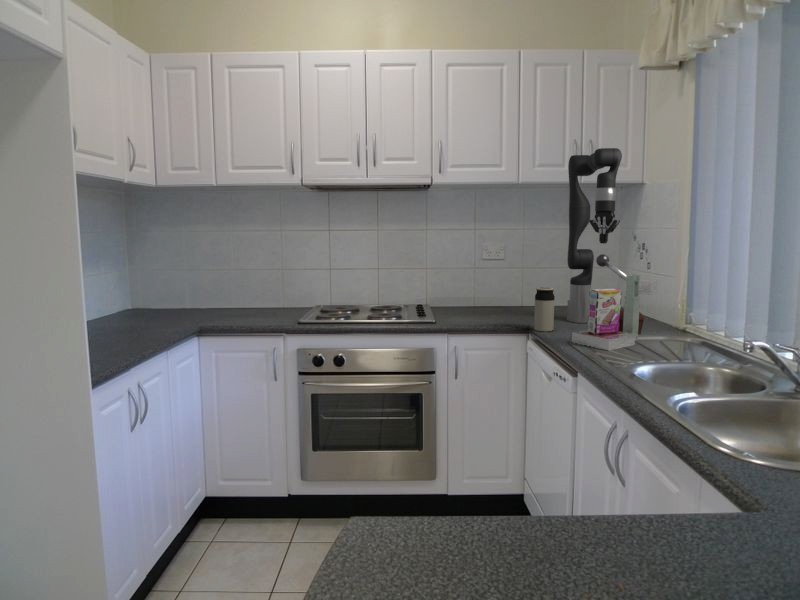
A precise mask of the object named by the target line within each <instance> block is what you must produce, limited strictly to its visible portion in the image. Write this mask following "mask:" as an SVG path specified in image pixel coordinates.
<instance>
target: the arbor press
mask: <svg viewBox="0 0 800 600" xmlns="http://www.w3.org/2000/svg"><path fill="white" fill-rule="evenodd" d="M626 275H627V277H626V281H625V295H624V300H623V302H624V303H623V305H624V306H623V309H624V319H623V332H619V333H608V334H596V335H595V334H591V333H588V332H587V329H584V330H579V331H578V330H577V331H573V332H571V343H572V342H574V343H573V344H575V343H578V344H577V345H580V344H582V345H581V346H584V345H587V346H586V347H589V346H591V347H590V348H594V347H595V348H594V349H598V350H599V349H600V350H604V351H613V350H617V349H622V348H627V347H631V346H634V345H635V344H636V343H635V341H636V340H638V339H639V335H638V325H639V312H640V305H641V302H640V301H641V296H640V294H638V283H639V280H641V275H640V274H639V275H637V274H632V275H629V274H626Z"/></svg>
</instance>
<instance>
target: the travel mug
mask: <svg viewBox="0 0 800 600" xmlns="http://www.w3.org/2000/svg"><path fill="white" fill-rule="evenodd" d="M535 290H536V293H535V295H534V318H533V319H534V321H533V324H534V327H533V329H534V331H537V332H541V333H542V332H543V333H544V332H546V333H548V332H547V331H550V332H553V331H554V328H555V327H554V326H555V323H554V322H555V321H554V319H555V297H556V296H555V294H554V290H555V288H554V287H548V286H547V287H545V286H538V287H536V288H535ZM552 330H553V331H552Z"/></svg>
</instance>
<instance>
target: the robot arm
mask: <svg viewBox="0 0 800 600" xmlns="http://www.w3.org/2000/svg"><path fill="white" fill-rule="evenodd" d="M622 157H623V153H622V151H621V149H620V148H616V147H615V148H613V147H605V148H603V147H601V148H596V149H595V151H594V152H593V153H591V154H590V155H589V154H574V155H570V156H569V159H568V166H567V169H568V171H567V172H568V184H569V186H568V187H569V199H568V201H569V203H568V205H569V206H568V229H569V230H568V245H567V246H568V247H567V248H568V249H567V267H568V269H569V270H582V272H581V273H579V274H578V275H576V276H572V277H571V278H570V279H569V280H570V281H569V283H570V285H569V299H568V300H567V312H566V313H567V314H566V321H568V322H571V323H577V324H586V323H587V324H588V313H589V295H590V290H592V282H593V281H592V280H593V269H594V261H595V260H594V259H595V257H594V251H593V250H592V249H590V248H578V242H579V239H580V238H581V236H582V234H583V233H584V232H585V229H586V228H587V227H588V225H589V224H590V225H591V228H592V229H593V230H594V232H595V233H598V234H599V237H598V239H599V244H607V243H608V239H609V238H608V236H609V234H610V233H613V232H614V231H615V230H616V228H617V227H618V225H620V222H621V220H620V219H617V217H616V213H615V211H616V201H617V200H616V198H617V197H616V196H617V195H616V193H617V191H616V183H617V182H616V181H617V175H618V172H619V168H620V165H621V162H622ZM605 167H609V169H608V170H607V171H605V172H601V173H599V174H597V178H596V191H595V200H594V201H595V203H594V205H595V206H594V212H595V215H594V218H592V219H591V204H590V201H589V199H588V197H587V195H585V193H584V192H583V190H582V188H581V186H580V182H579V177H590V176H592V175H593V174H594V173H595V172H597V171H598V170H601V169H603V168H605Z"/></svg>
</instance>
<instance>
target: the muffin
mask: <svg viewBox="0 0 800 600" xmlns="http://www.w3.org/2000/svg"><path fill="white" fill-rule="evenodd" d="M623 319H624V308H623V309H620V322H619V332H623ZM644 320H645V316H643V314H642V313H641V312H640V311H639V325H638V334H639V335H642V334H641V333H642V328H643V325H644Z"/></svg>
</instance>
